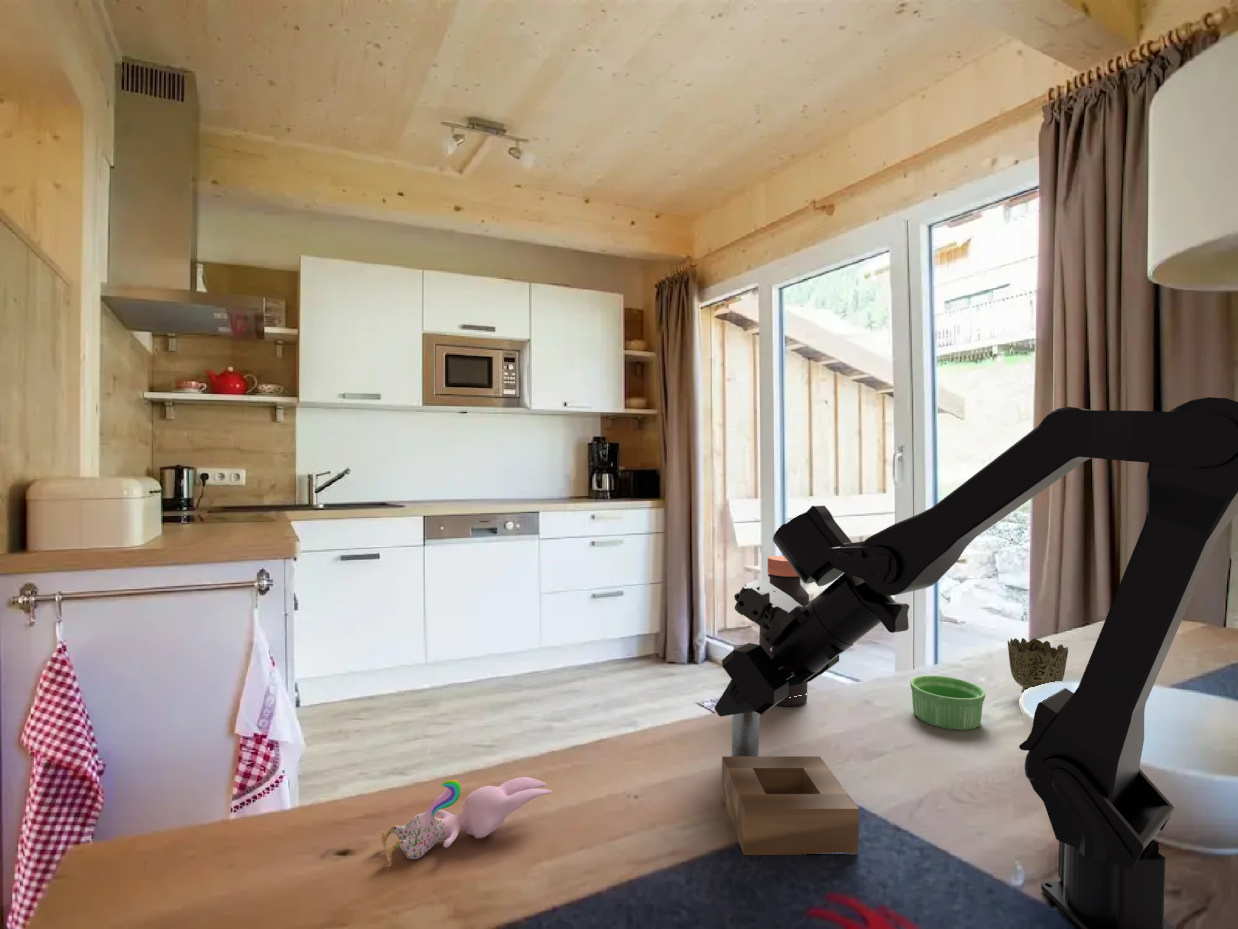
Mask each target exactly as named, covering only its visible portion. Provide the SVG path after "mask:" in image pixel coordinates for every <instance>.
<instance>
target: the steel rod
mask: <svg viewBox="0 0 1238 929" xmlns="http://www.w3.org/2000/svg"><path fill="white" fill-rule="evenodd" d="M745 644H746V643H744V644H743V643H741V644H740V643H739V644H735V645H733V647H732V648H733V650H735V649H737V648H739V647H741V646H743V645H745ZM733 650H732V651H733ZM760 715H761V714H759V713H757V712H747V713H740V714H734V715H731V717H732V718H731V753H730V754H731V756H760Z"/></svg>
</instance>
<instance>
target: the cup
mask: <svg viewBox="0 0 1238 929" xmlns="http://www.w3.org/2000/svg"><path fill="white" fill-rule="evenodd" d="M1007 648H1008V650H1007V651H1008V659H1009V668H1010V673H1011V675H1012V678H1013V680H1014V681H1015V682H1016V684H1018V685H1019V686H1020V687H1021V690H1020V693H1021V694H1022V693H1023V692H1024V690H1026V689H1028V688H1030V687H1035V686H1038V685H1041V684H1045V683H1049V682H1055V681H1062V682H1063V681H1064V677H1065V672H1066V668H1067V667H1066V666H1067V660H1068V655H1069V647H1067V646H1066V647H1064V645H1063V644H1062V643H1061V644H1058V646H1056V647H1054V646H1053V647H1052V646H1051V642H1049V640H1044V642H1042V641H1041V640H1039V639H1037V638H1035V637H1034V638H1032V639H1030V640H1029V641H1028V640H1027V639H1025V638H1024V637H1022V638H1021V640H1020V641H1019V639H1018V638H1014V639H1013V638H1010V641H1009V640H1007Z"/></svg>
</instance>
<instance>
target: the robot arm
mask: <svg viewBox="0 0 1238 929" xmlns="http://www.w3.org/2000/svg"><path fill="white" fill-rule="evenodd" d="M1091 459H1098V460H1099V459H1100V460H1110V461H1111V460H1112V461H1120V462H1121V461H1122V462H1123V461H1124V462H1132V463H1133V462H1136V463H1137V462H1138V463H1144V464H1145V463H1146V464H1148V466H1147V472H1146V473H1147V474H1146V515H1145V521H1144V523H1143V526H1142V529H1141V531H1140V533H1139V536H1138V539H1137V541H1136V543H1135V545H1134V548H1133V551H1132V553H1131V556H1130V558H1129V561H1128V563H1127V566H1126V568H1125V570H1124V573H1123V575H1122V578H1121V580H1120V584H1119V586H1118V588H1117V591H1116V593H1115V595H1114V598H1113V600H1112V603H1111V604H1110V607H1109V611H1108V613H1107V615H1106V617H1105V620H1104V622H1103V625H1102V628H1101V630H1100V632H1099V635H1098V637H1097V639H1096V642H1095V644H1094V646H1093V650H1092V652H1091V654H1090V657H1089V659H1088V662H1087V664H1086V666H1085V669H1084V672H1083V674H1082V675H1081V676H1082V677H1081V680H1080V681H1079V684H1078V686H1077V688H1076V689H1075V691H1074V692H1072V691H1071V690H1070V689H1068V688H1066V687H1065V688H1062V689H1061V690H1059V691H1057V692H1056V693H1053V694H1051V696H1050V697H1048V698H1047V699H1045V700H1043V701H1042V702H1037V704H1036V708H1035V711H1034V716H1033V722H1032V727H1031V730H1030V733H1029V735H1028V736H1027V738H1026V739H1025V740H1024V741H1023V742H1022V743H1020V744H1019V745H1018V748H1019V750H1021V751H1028V752H1027V754H1026V756H1025V759H1024V760H1025V761H1024V766H1023V767H1024V773H1025V777H1026V778H1027V779H1028V781H1029V782H1030V785H1031V787H1032V789H1033V791H1034V792H1035V793H1036V794H1037V796H1038V797H1039V798H1040V799H1041V801H1042V802H1043V804H1044V807H1045V810H1046V811H1045V812H1046V813H1047V816H1048V819H1049V823H1050V825H1051V828H1052V830H1053V834H1054V837H1055V839H1056V840H1057V841H1058V867H1057V868H1058V869H1057V870H1058V874H1057V875H1058V878H1059V880H1044V881H1040V890H1042V892H1043V893H1044V894H1045V895H1046V896H1048V897H1049V899H1050V900H1052V901H1053V902H1054V903H1055V904H1056V905H1057V906H1058V907H1059V909H1061V910H1062V911H1063V912H1064V913H1065V914H1066V915H1067V916H1068V917H1069V918H1070V919H1071V920H1072V921H1073V922H1074V923H1075V924H1076V925H1077V926H1078V927H1080V928H1081V929H1176V927H1175V926H1173V925H1172V924H1171V923H1169V922H1168V921H1167V920H1165V900H1166V899H1165V898H1166V897H1165V896H1166V895H1165V894H1166V893H1165V892H1166V862H1167V860H1166V857H1165V856H1164V855H1163V854H1161V853H1160V847H1159V844H1158V843H1157V842H1156V841H1155V840H1154V839H1155V837H1156V836H1158V833H1160V832H1162V831H1163V830H1164V828H1165V827H1166V826H1167V823H1168V822H1169V820H1170V818H1171V816H1172V815H1173V813H1174V812H1175V807H1174V805H1173V804H1172V803H1171V802H1170V801H1169V800H1168V798H1167V797H1165V795H1164V794H1163V793H1162V792H1161V790H1160V789H1158V787H1157V786H1156V785H1155V783H1153V782H1152V781H1151V779H1149V778H1148V776H1147V774H1145V773H1144V772H1143V771H1142V770H1141V768H1140V765H1141V760H1142V759H1141V758H1142V753H1143V748H1144V743H1145V709H1146V705H1147V704H1146V703H1147V701H1148V700H1149V697H1150V694H1151V692H1152V689H1153V687H1154V685H1155V683H1156V680H1157V678H1158V676H1159V674H1160V672H1161V669H1162V667H1163V664H1164V663H1165V660H1166V658H1167V655H1168V653H1169V651H1170V648H1171V646H1172V643H1173V641H1174V639H1175V637H1176V635H1177V632H1178V630H1179V628H1180V625H1181V623H1182V621H1183V619H1184V616H1185V615H1186V611H1187V610H1188V607H1189V605H1190V602H1191V601H1192V597H1193V595H1194V593H1195V590H1196V589H1197V586H1198V583H1199V582H1200V579H1201V576H1202V575H1203V572H1204V570H1205V568H1206V565H1207V563H1208V560H1209V559H1210V557H1211V554H1212V552H1213V549H1214V547H1215V545H1216V542H1217V540H1218V538H1219V537H1220V535H1221V534H1222V533H1223V531H1224V530H1225V529H1226V528H1227V526H1228V525H1229V524H1230V523H1231V521H1232V520H1234V518H1235V517H1236V515H1237V514H1238V401H1236V400H1233V399H1230V398H1227V397H1211V396H1210V397H1209V396H1208V397H1203V398H1196V399H1191V400H1189V401H1186V402H1185V403H1182V404H1180V405H1178V406H1176V407H1174V408H1172V409H1170V410H1169V411H1163V410H1161V411H1158V410H1157V411H1156V410H1106V409H1105V410H1103V409H1102V410H1099V409H1097V410H1095V409H1094V410H1093V409H1087V408H1081V407H1072V406H1066V407H1065V406H1064V407H1061V408H1060V407H1059V408H1057V409H1055V410H1053V411H1051V412H1049V413H1048V414H1046V416H1045V417H1044V418H1043V419H1042V420H1041V422H1040V423H1039V424H1038V426H1036V427H1035V428H1034V429H1032V430H1031V431H1030V432H1028V433H1027V434H1025V435H1024V436H1023V437H1022V438H1021V439H1019V440H1017V442H1015V443H1014V444H1013V445H1011V446H1010V447H1009V448H1008V449H1006V450H1005V451H1004V452H1003V453H1001V454H1000V455H998V456H997V457H996V458H994V459H993V460H992V461H991V462H989V463H988V464H987V465H984V467H982V468H981V469H980V470H979V471H978V472H976V473H975V474H974V475H972V476H971V477H970V478H968V479H967V480H966V481H965V482H963V483H962V484H961V485H959V486H958V487H957V488H956V489H955V490H953V491H952V492H950V493H949V494H948V495H946V496H945V497H944V498H942V500H940V501H939V502H937V503H936V504H935V505H934V506H932V507H930V508H928V509H927V510H924V511H923V512H920V513H918V514H916V515H914V516H911V517H909V518H906V519H903V520H901V521H899V522H897V523H893V524H892V525H890V526H887V527H886V528H884V529H882V530H880V531H878V532H876V533H874V534H872V535H871V536H868V537H867V538H866V539H865V540H864V541H863V540H860V541H854V542H853V541H852V540H851V539H850V537H849V536H848V535H847V534H846V533H845V532H844V530H843V529H842V528H841V526H840V525H839V524H838V523H837V521H836V520H835V519H834V517H833V515H832V513H831V512H830V510H829V509H828V508H827V507H826V506H825V505H822V504H820V505H819V504H818V505H811V506H810V507H809V509H808V510H806V511H805V512H803V513H801V514H799V515H797V516H795V517H794V518H792V519H790V520H789V521H788V522H787V523H783V524H782V525H781V526H780V527H778V529H776V531H775V533H774V535H773V537H772V541H773V543H774V544H775V546H776V547H777V548H778V550H779V552H780V553H781V554H782V556H784V557H785V558H786V560H787V561H788V562H789V564H790V565H791V566H792V568H793V569H794V570H795V572H796V573H797V575H798V576H799V577H800V581H801V582H802V583H803V584H813V583H815V584H816V585H817V586H818V587H823V586H825V585H828V586H827V587H826V588H825V589H824V590H822V592H820V593H819V594H817V595H816V596H815V597H814V598H813V599H812V600H809V602H807V603H806V604H805V605H804V606H802V605H800V604H799V603H798V602H796V601H795V600H794V599H793V598H792V597H790V596H789V595H787V594H786V593H784V592H783V591H781V590H780V589H778V588H777V587H775V586H773V585H772V584H770V581H767V580H765V579H761V578H758V579H755V580H751V581H748V582H746V583H745V584H744V586H742V588H741V589H740V591H739V592H737V593H735V594H734V600H735V602H736V603H735V605H734V610H735V611H736V612H737V613H738V614H739V615H741V616H744V617H745V618H747V619H748V620H749V621H752V623H753V622H754V623H755V624H757V625H758V626H759V627H760V626H761V627H763V628H764V629H767V631H766V632H765V633H764V634H763V635H762V636H763V637H764V639H765V640H766V641H767V642H768V644H769V645H771V644H772V645H773V647H772V648H770V651H771V652H772V654H773V655H774V656H773V658H772V659H771V658H770V657H769V655H768V654H767V653H766V652H765V650H764V649H763V648H762V646H761V645H759V643H758V644H757V643H754V642H753V643H752V642H748V643H744V644H745V645H743V646H741V647H739V648H737V649H735V650H732V651H731V652H729V653H728V654H727V655H726V656H725V657H724V658H722V659H721V666H722V667H723V669H724V671H725V672H726V673H727V675H728V676H729V678H730V681H729V683H728V684H727V687H726V688H725V690H724V691H723V693H722V695H720V698H719V699H718V700H717V703H716V704H715V705H714V710H715V712H716V713H717V716H719V717H727V716H728V717H729V716H732V715H734V714H740V713H747V712H757V713H759V714H760V715H764V713H766V712H768V711H769V710H771V709H772V708H773V707H775V706H777V705H776V704H778V703H779V702H780V701H782V700H783V699H784V698H785V697H787V696H788V693H789V687H791V686H794V685H798V684H802V683H806V682H807V683H808V682H812V681H813V680H814V679H816V678H817V677H818V676H821V675H823V674H824V673H825V672H828V671H829V670H830V669H831V668H832V667H834V666H835V665H837V664H838V662H840V655H841V654H843V653H845V652H846V651H847V650H848V649H850V648H851V647H853V646H854V644H855V643H856V642H857V641H859V639H862V637H863V636H866V634H867V633H869V632H870V631H871V630H873V629H874V628H875V627H876V626H877V625H879V624H880V623H882V626H884V627H885V629H886V630H887V632H889V633H891V634H894V633H900V632H906V631H908V630H909V628H910V627H909V617H908V616H909V615H908V614H909V609H910V605H909V604H908V603H901V602H897V601H895V600H894V598H893V597H892V596H898V595H902V594H906V593H910V592H915V591H919V590H924V589H927V588H929V587H932V586H934V585H935V584H936V583H937V582H938V581H939V580H940V579H941V578H942V577H943V576H944V575H945V574H946V573H947V572H948V571H949V570H950V569H951V568H952V567H953V566H954V565H955V564H956V563H957V562H958V561H959V559H960V558H961V556H962V554H963V553H964V551H965V550H966V549H967V547H968V546H969V545H970V544H971V543H972V542H973V541H974V540H975V539H976V538H977V537H978V536H980V535H981V534H983V532H985V531H987V530H988V529H990V528H991V527H992V526H994V525H995V524H997V523H998V522H1000V521H1001V520H1003V519H1004V518H1006V517H1007V516H1009V515H1010V514H1012V513H1013V512H1014V511H1015V510H1017V509H1018V508H1020V507H1021V506H1023V505H1024V504H1026V503H1027V502H1029V501H1030V500H1031V499H1033V498H1034V497H1036V496H1038V495H1039V494H1040V493H1041V492H1043V491H1044V490H1046V489H1048V487H1050V486H1051V485H1053V484H1054V483H1056V482H1057V481H1059V480H1060V479H1062V477H1065V476H1066V475H1067V474H1068V473H1070V472H1071V471H1073V470H1075V469H1076V468H1078V466H1080V465H1081V464H1082V463H1084V462H1086V461H1088V460H1091ZM830 583H831V584H830ZM829 584H830V585H829Z"/></svg>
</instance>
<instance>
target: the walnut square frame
mask: <svg viewBox="0 0 1238 929" xmlns="http://www.w3.org/2000/svg"><path fill="white" fill-rule="evenodd" d="M720 795H721V798H722V801H723V804H724V807H725V809H726V812H727V814H728V817H729V819H730V821H731V825H732V827H733V831H734V833H735V836H736V838H737V841H738V844H739V846H740V848H741V851H742V854H743V856H797V855H798V856H801V855H802V854H803V855H802V856H806V854H816V853H817V854H818V853H829V852H830V853H833V852H834V853H836V852H839V853H840V852H843V853H844V852H845V853H847V852H848V853H858V854H859V838H860V837H859V832H860V831H859V828H860V808H859V806H858V805H857V804H856V803H855V801H854V800H853V798H852V797H851V796H850V795H849V793H848V791H847V790H846V789H845V788H844V786H843V785H842V784H841V782H840V781H839V780H838V778H837V777H836V776H835V775H834V773H833V771H832V770H831V769H830V768H829V767H828V765H827V764H826V762H825V761H824V760H823V758H822V757H821V756H817V755H816V756H810V755H809V756H807V755H806V756H805V755H804V756H802V755H800V756H796V755H795V756H785V755H783V756H779V755H778V756H776V755H775V756H774V755H773V756H771V755H769V756H768V755H767V756H760V755H759V756H726V755H725V756H723V755H722V756H721V794H720Z"/></svg>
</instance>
